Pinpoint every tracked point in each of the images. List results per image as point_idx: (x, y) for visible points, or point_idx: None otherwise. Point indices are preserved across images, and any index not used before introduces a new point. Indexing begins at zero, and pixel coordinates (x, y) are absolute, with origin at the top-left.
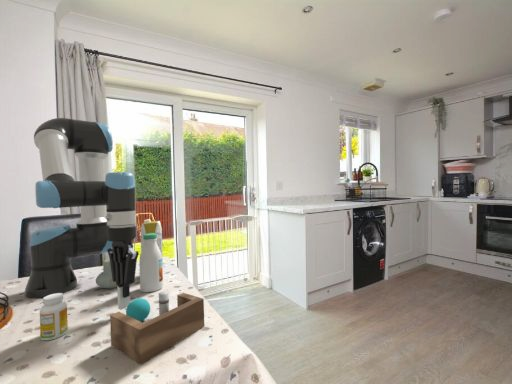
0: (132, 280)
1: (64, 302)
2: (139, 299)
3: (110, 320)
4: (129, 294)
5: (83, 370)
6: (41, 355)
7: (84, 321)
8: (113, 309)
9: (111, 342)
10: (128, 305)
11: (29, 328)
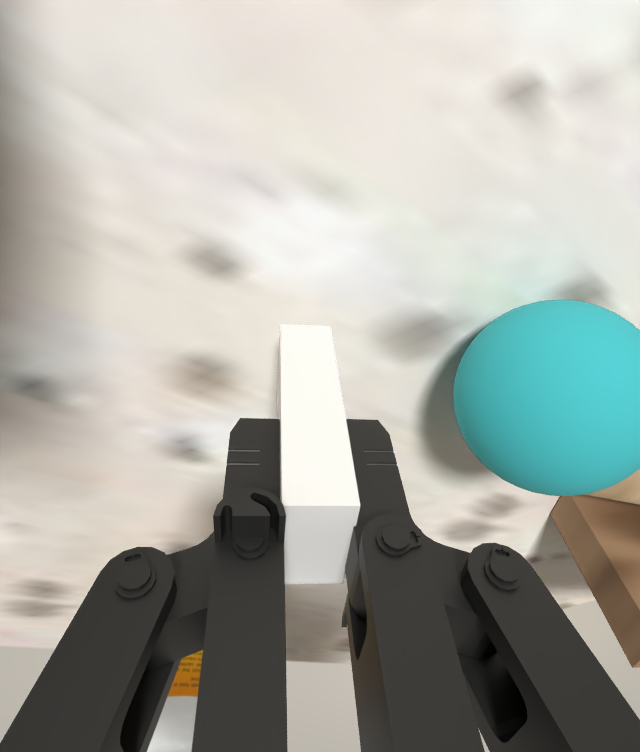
0: (521, 602)
1: (190, 734)
2: (620, 464)
3: (617, 635)
4: (387, 435)
5: (565, 589)
6: (335, 619)
7: (164, 487)
8: (122, 326)
9: (561, 527)
10: (520, 487)
11: (13, 605)
